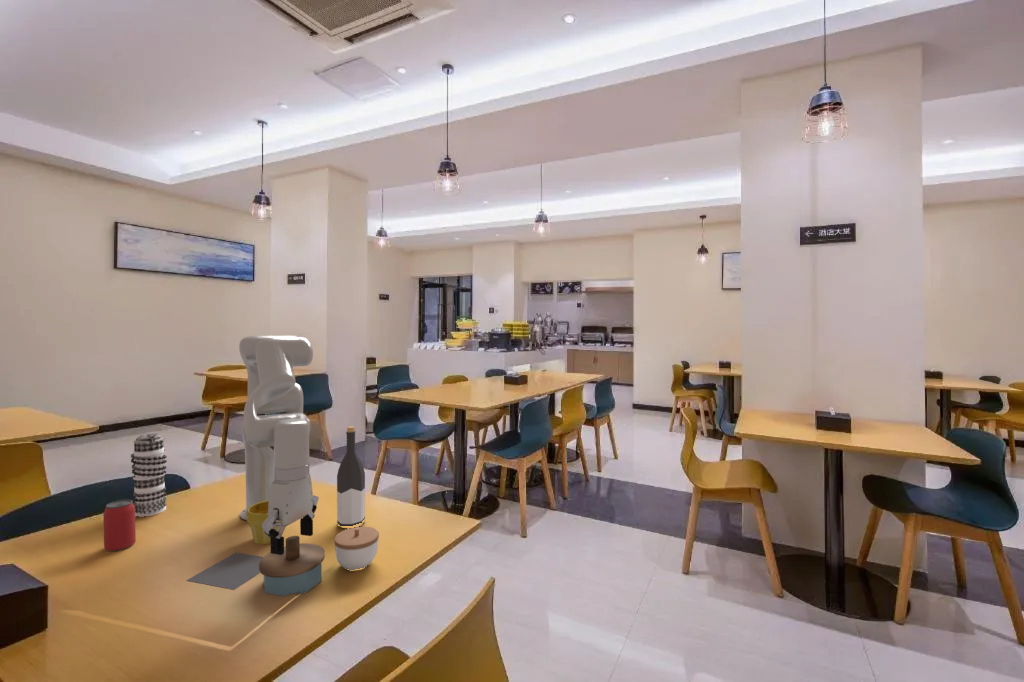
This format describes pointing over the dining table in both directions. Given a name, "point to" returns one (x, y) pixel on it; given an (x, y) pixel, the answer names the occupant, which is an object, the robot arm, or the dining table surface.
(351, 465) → the wine bottle
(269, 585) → the bowl
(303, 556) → the lid
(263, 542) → the plant pot
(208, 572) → the mat
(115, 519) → the beer can
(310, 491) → the robot arm
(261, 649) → the dining table surface
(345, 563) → the lidded jar
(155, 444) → the decorative candle
